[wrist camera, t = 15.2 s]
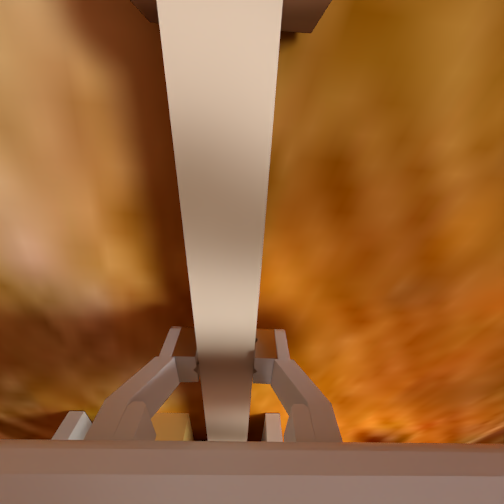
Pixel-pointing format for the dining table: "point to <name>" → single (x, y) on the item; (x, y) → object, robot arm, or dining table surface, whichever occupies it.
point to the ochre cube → (172, 427)
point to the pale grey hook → (224, 174)
